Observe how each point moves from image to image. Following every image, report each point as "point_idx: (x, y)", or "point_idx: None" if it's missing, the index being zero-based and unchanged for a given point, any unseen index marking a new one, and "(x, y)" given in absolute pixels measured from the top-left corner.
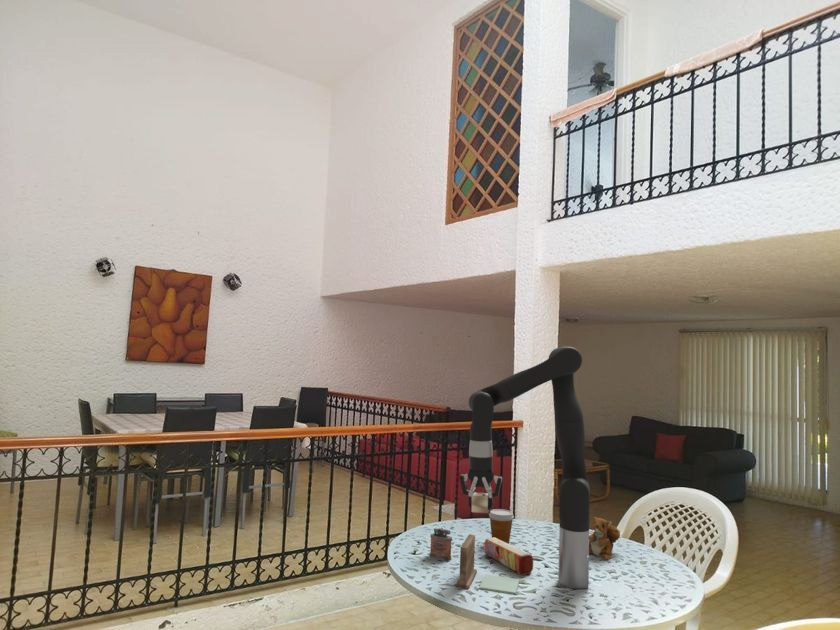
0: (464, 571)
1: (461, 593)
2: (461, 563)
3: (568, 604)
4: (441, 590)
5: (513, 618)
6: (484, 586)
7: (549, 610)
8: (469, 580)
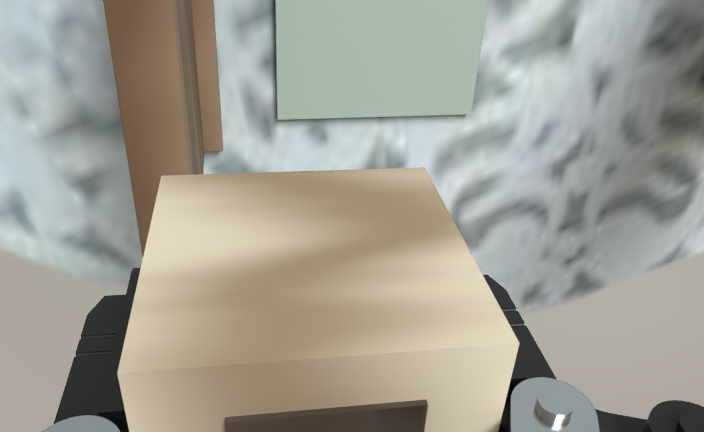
0: None
1: None
2: None
3: (695, 123)
4: (89, 211)
5: None
6: (303, 101)
7: (597, 210)
8: (205, 76)
